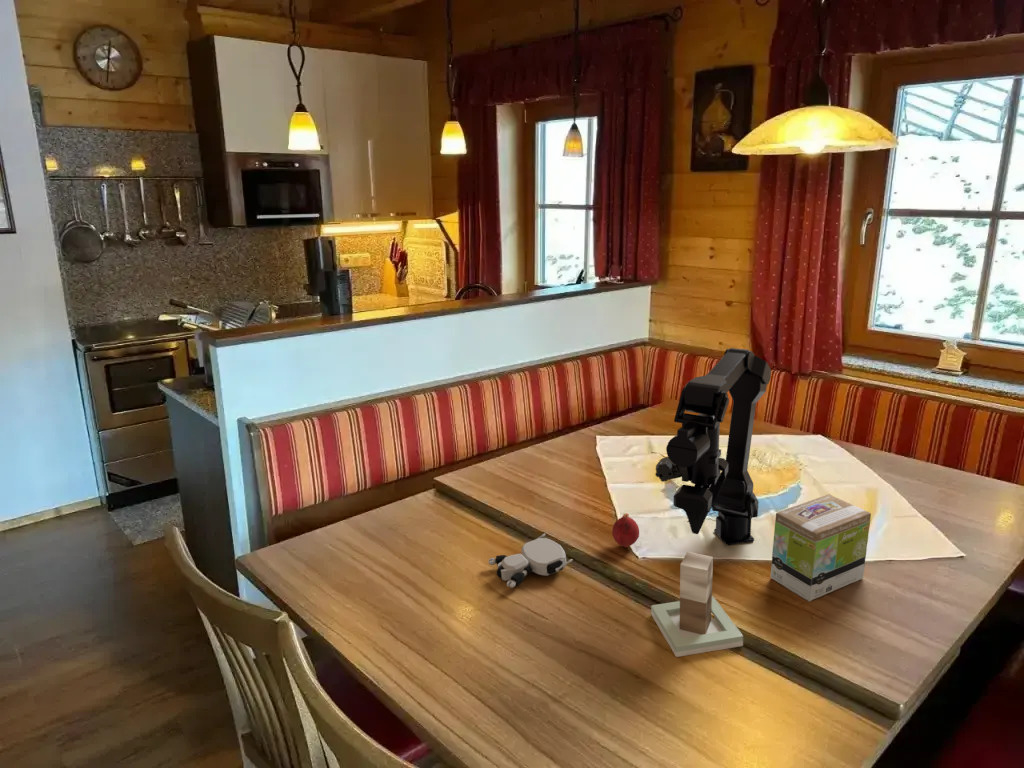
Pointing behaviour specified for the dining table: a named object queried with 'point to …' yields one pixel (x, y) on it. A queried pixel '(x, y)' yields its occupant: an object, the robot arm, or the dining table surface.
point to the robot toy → (531, 561)
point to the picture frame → (688, 643)
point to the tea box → (819, 546)
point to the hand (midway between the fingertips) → (701, 522)
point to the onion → (625, 531)
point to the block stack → (696, 592)
